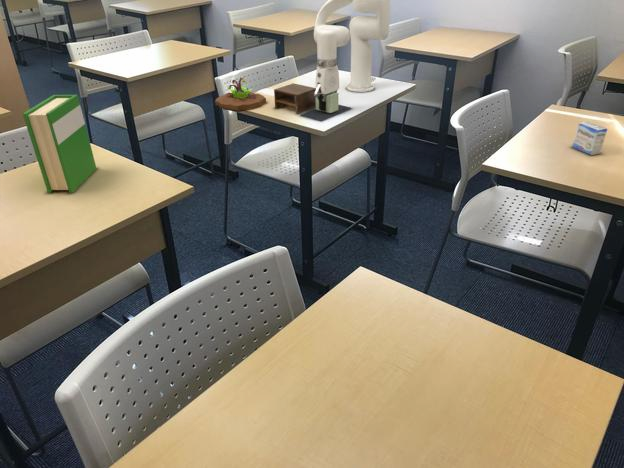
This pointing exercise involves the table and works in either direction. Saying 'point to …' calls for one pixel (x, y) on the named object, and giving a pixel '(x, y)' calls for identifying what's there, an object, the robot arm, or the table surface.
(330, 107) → the green square container
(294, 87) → the shelf
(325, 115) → the desk pad
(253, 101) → the plant
